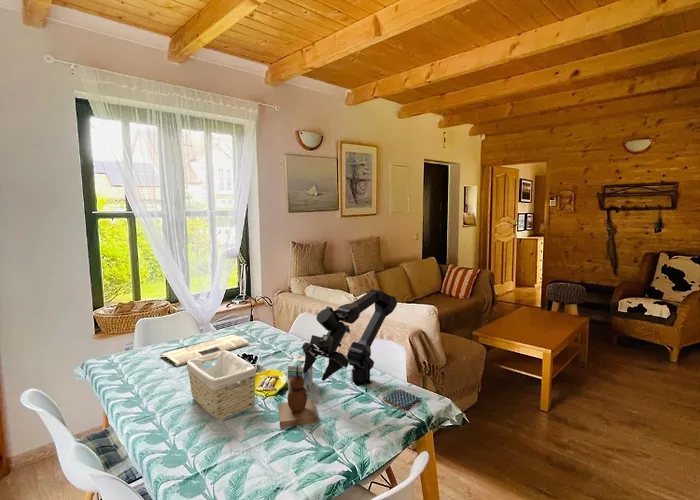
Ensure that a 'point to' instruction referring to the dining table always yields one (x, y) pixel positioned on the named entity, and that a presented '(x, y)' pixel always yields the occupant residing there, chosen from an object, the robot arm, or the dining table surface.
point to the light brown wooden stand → (297, 415)
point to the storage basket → (222, 383)
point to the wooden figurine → (297, 393)
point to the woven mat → (401, 399)
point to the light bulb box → (300, 372)
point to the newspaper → (205, 349)
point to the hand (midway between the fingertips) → (312, 376)
